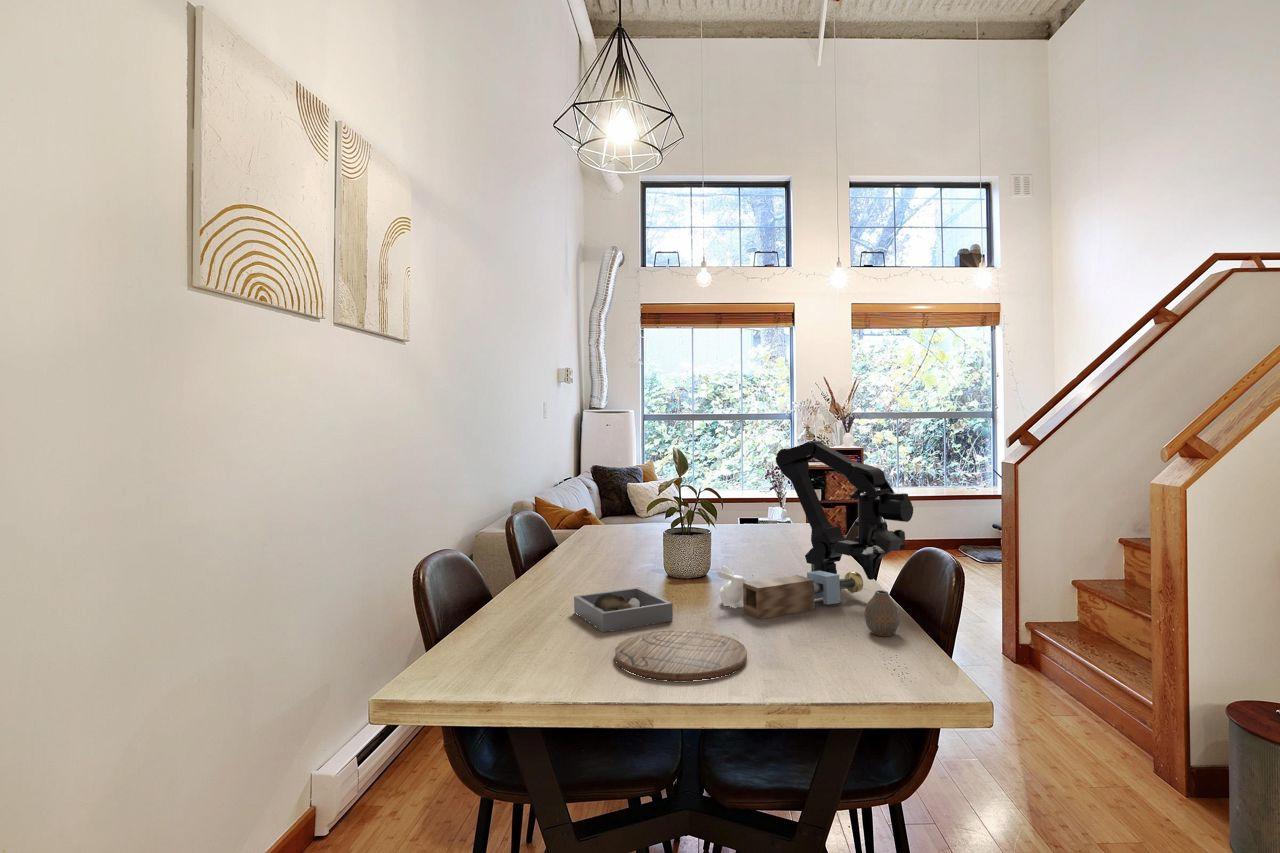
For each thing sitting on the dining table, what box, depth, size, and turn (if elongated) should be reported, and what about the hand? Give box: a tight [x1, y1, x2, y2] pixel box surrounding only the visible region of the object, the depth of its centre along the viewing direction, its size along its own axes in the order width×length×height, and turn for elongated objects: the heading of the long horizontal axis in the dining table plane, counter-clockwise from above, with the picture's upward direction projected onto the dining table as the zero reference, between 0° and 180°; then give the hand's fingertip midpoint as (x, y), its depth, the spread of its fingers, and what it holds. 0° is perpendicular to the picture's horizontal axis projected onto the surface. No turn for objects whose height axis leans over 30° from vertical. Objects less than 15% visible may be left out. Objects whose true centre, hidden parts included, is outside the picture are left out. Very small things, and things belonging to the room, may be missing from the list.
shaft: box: [814, 571, 864, 594], centre depth 169 cm, size 20×5×5 cm, turn 117°
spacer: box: [806, 571, 841, 605], centre depth 169 cm, size 4×7×6 cm, turn 27°
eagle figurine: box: [594, 593, 640, 611], centre depth 156 cm, size 8×7×9 cm
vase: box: [864, 589, 901, 637], centre depth 145 cm, size 7×7×9 cm
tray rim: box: [573, 587, 674, 633], centre depth 160 cm, size 17×17×4 cm
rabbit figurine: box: [716, 565, 748, 609], centre depth 168 cm, size 12×8×10 cm, turn 8°
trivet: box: [614, 629, 748, 681], centre depth 132 cm, size 25×25×2 cm
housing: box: [742, 574, 815, 620], centre depth 163 cm, size 16×6×7 cm, turn 117°
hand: (870, 579), depth 176 cm, fingers closed
